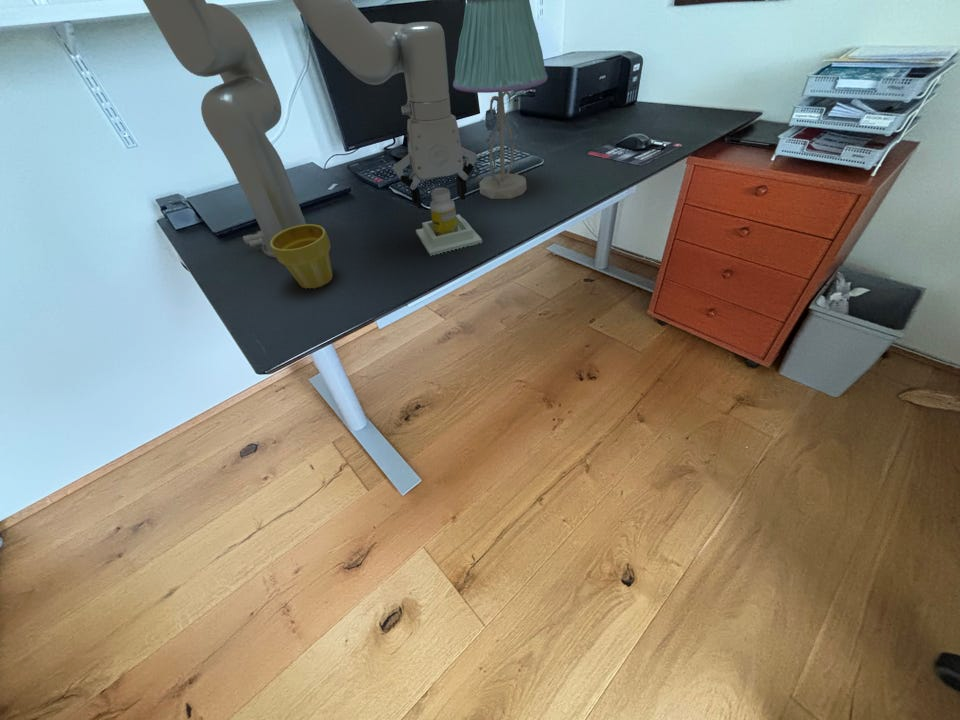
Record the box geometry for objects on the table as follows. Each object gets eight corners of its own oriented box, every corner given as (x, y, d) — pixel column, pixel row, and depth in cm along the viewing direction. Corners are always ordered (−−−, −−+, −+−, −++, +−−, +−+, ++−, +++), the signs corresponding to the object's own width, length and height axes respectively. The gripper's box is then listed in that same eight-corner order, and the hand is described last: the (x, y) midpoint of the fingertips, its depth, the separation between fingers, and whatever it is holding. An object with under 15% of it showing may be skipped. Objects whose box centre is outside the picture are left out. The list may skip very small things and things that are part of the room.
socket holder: (430, 256, 86) (428, 244, 84) (416, 233, 94) (414, 221, 93) (482, 242, 89) (481, 231, 87) (464, 221, 97) (462, 210, 95)
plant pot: (281, 295, 79) (259, 250, 72) (301, 267, 87) (282, 224, 80) (332, 294, 78) (314, 248, 71) (347, 266, 86) (332, 222, 79)
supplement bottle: (431, 232, 92) (424, 189, 86) (454, 227, 93) (448, 184, 87) (438, 242, 89) (431, 198, 82) (461, 237, 90) (456, 192, 83)
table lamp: (487, 171, 120) (477, -10, 93) (555, 180, 112) (567, -17, 84) (448, 199, 107) (423, -1, 80) (521, 212, 99) (522, -9, 71)
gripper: (388, 121, 69) (404, 216, 81) (481, 107, 74) (484, 200, 85) (379, 111, 75) (396, 202, 86) (467, 99, 79) (471, 188, 91)
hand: (440, 201), depth 86 cm, fingers open, 9 cm apart
